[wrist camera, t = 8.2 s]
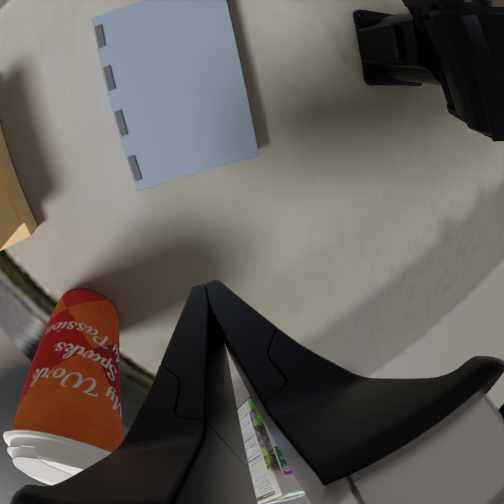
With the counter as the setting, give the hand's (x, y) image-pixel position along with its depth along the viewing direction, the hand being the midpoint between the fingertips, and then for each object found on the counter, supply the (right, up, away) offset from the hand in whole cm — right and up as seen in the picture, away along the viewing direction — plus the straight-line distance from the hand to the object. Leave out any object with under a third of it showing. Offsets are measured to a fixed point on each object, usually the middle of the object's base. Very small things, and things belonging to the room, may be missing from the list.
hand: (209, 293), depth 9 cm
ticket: (-3, +12, +6) cm, 14 cm away
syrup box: (+2, -20, +27) cm, 34 cm away
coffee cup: (-13, -4, +13) cm, 19 cm away
